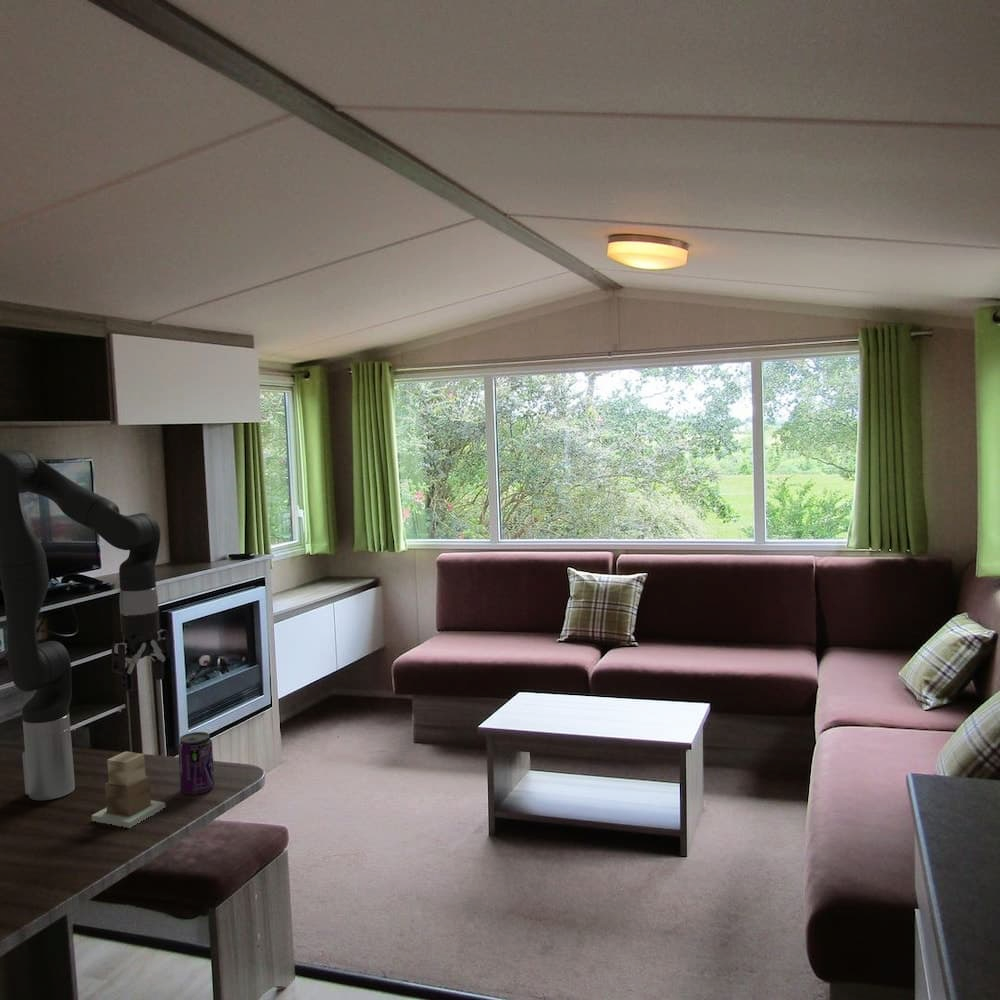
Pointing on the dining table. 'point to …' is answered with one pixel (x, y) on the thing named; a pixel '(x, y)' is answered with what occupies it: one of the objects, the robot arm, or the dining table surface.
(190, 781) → the beverage can
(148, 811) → the plate
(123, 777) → the beech cube
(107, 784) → the walnut cube
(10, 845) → the dining table surface
